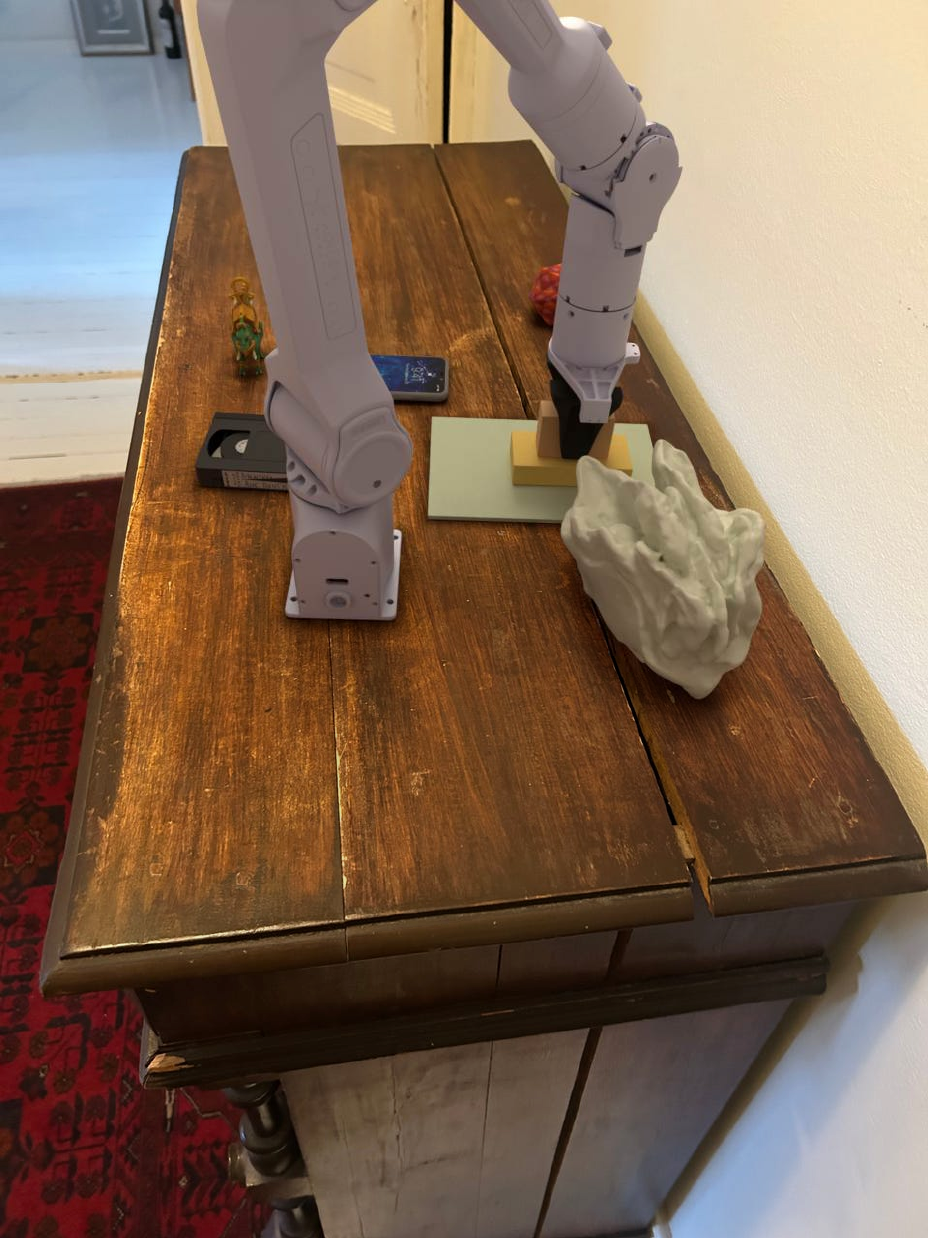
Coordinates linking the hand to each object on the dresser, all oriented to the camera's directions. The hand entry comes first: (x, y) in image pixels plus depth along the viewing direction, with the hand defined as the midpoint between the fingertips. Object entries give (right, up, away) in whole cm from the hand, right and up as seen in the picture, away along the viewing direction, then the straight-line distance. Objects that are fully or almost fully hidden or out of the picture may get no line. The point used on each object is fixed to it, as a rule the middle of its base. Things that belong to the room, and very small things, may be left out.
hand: (572, 446), depth 74 cm
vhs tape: (-24, -1, +2) cm, 24 cm away
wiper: (0, -2, +2) cm, 2 cm away
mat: (-2, -2, +2) cm, 3 cm away
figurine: (-30, +11, +13) cm, 35 cm away
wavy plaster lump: (+4, -15, -9) cm, 18 cm away
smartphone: (-18, +8, +10) cm, 23 cm away
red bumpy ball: (+1, +18, +21) cm, 27 cm away
